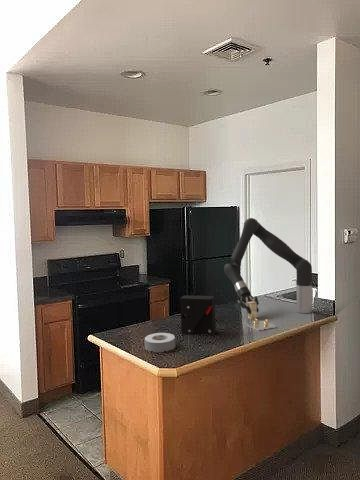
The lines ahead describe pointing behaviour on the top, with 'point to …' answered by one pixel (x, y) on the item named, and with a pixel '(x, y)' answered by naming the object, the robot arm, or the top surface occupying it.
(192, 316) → the electrical component
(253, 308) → the block
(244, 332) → the top surface
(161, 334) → the tape roll
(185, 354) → the top surface
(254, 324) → the plate
